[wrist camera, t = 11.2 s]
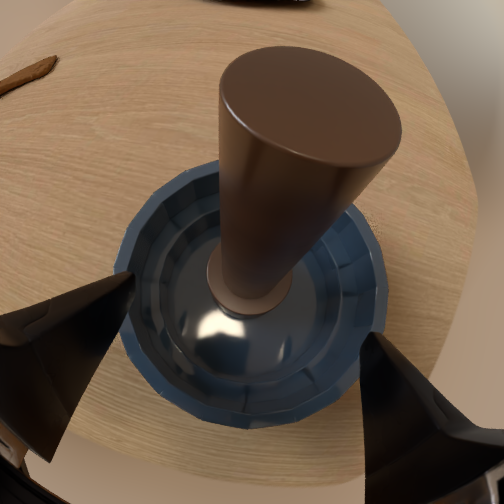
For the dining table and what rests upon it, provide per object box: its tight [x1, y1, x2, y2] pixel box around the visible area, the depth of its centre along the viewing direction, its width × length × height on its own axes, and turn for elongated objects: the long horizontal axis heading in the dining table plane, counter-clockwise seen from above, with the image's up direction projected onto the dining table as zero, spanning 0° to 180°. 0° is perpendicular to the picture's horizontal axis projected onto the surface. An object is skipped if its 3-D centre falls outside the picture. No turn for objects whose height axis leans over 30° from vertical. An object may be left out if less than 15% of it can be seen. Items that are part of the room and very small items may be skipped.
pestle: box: [206, 46, 402, 319], centre depth 10 cm, size 4×4×14 cm
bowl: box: [113, 160, 389, 430], centre depth 15 cm, size 14×14×5 cm
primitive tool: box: [0, 55, 57, 95], centre depth 20 cm, size 19×6×4 cm, turn 105°
